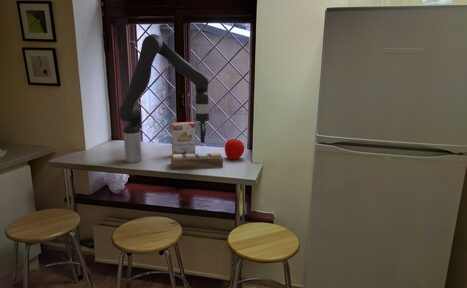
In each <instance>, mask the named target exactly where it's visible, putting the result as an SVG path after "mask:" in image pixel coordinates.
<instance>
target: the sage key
mask: <svg viewBox="0 0 467 288" xmlns="http://www.w3.org/2000/svg"><path fill="white" fill-rule="evenodd" d="M197 154H198V158H208V155H207V154H208V153H207V152H206V153H205V152H204V153H203V152H202V153H197Z"/></svg>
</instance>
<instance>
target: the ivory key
mask: <svg viewBox="0 0 467 288" xmlns="http://www.w3.org/2000/svg"><path fill="white" fill-rule="evenodd" d="M173 159H182V154H173Z"/></svg>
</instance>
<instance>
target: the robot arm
mask: <svg viewBox="0 0 467 288" xmlns="http://www.w3.org/2000/svg"><path fill="white" fill-rule="evenodd" d="M157 55H160V56H162V57H163V58H164V59H166V60H167V62H169V64H170V65H171V66H172V67H173V69H175V70H176V71H177V72H178V73H179V74H180V75H181V76H183V77H185V79H187V80H189V81H190V82H191V83H193V84H194V86H195V107H194V108H195V109H194V111H195V112H194V113H195V116H194V117H195V118H194V119H195V121H196V122H199V123H198V132H199V136H200V137H199V139H200V140H199V141H200V142H199V143H201V144H204V143H205V142H206V140H205V139H206V138H205V137H206V130H207V124H206V122H209V120H210V105H209V93H208V91H209V84H210V83H209V79H208V77H207V76H206V75H204V74H203V73H201V72H200V71H199V70H197V69H196V68H195V67H194V66H193V65H192V64H190V63H189V62H188V61H187V60H185V59H184V58H183V57H181V55H180V54H178V53H177V52H176V51H174V50H173V49H172V48H171V46H169V45H168V44H167V43H166V41H165V40H164V39H163V38H162V37H161V36H160V35H158V34H155V33H151V34H149V35H146V36H145V37H144V38H143V40H142V43H141V48H140V52H139V57H138V60H137V63H136V65H135V67H134V70H133V72H132V76H131V79H130V82H129V85H128V88H127V91H126V94H125V96H124V99H123V101H122V102H121V104H120V107H119V110H118V116H119V119H120V120H121V121H123V122H128V123H127V124H126V125H125V126H124V127H123V132H122V133H123V141H124V142H123V143H124V159H125V160H124V161H125V163H131V164H132V163H133V164H134V163H140V162H141V161H142V160H143V159H142V143H141V128H142V112H141V111H142V110H141V108H140V106H139V105H138V104H136V103H137V101H138V100H139V99H140V97H141V96H142V95H143V94H144V93H145V92H146V90H147V89H148V86H149V83H150V80H151V76H152V68H153V63H154V61H155V58H156V57H157Z"/></svg>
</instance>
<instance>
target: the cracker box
mask: <svg viewBox="0 0 467 288" xmlns="http://www.w3.org/2000/svg"><path fill="white" fill-rule="evenodd" d="M173 154H182V155H186V154H196V123H195V122H194V121H185V122H171V155H173Z"/></svg>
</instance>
